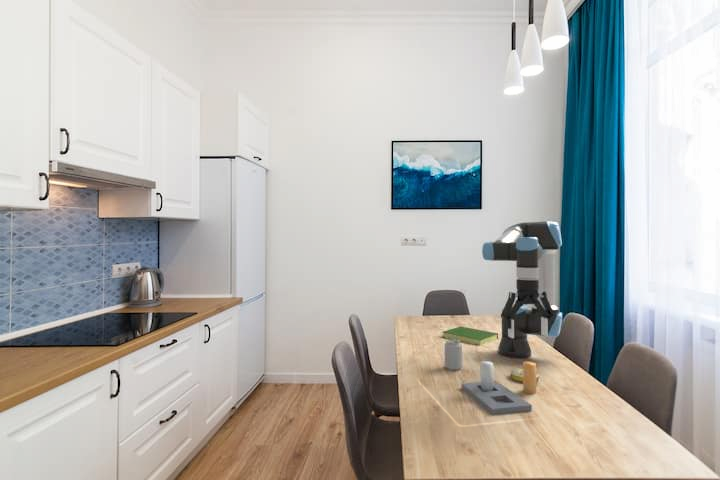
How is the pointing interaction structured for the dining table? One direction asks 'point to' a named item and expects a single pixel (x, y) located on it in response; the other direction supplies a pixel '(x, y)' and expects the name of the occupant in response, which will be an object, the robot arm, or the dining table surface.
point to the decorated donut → (519, 375)
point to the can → (453, 355)
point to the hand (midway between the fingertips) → (527, 336)
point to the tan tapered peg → (529, 377)
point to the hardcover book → (470, 335)
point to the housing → (497, 398)
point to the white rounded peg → (486, 376)
